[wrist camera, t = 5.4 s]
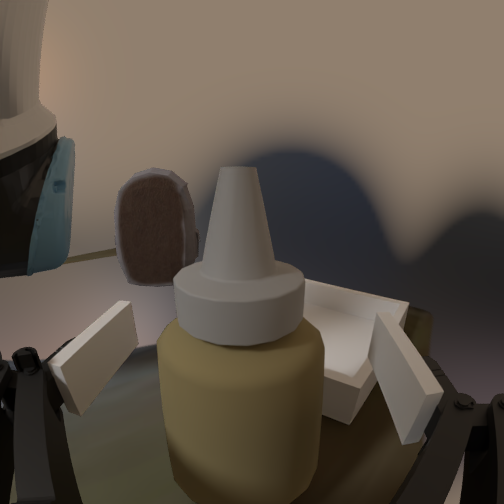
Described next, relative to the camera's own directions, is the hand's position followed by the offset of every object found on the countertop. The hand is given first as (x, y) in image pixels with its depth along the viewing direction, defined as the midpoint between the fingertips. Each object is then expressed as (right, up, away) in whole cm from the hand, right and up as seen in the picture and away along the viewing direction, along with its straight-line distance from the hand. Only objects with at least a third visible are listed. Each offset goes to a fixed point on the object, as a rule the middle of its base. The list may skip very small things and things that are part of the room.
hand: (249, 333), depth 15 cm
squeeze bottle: (0, -11, -1) cm, 11 cm away
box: (+6, -6, +17) cm, 19 cm away
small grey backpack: (-16, -1, +36) cm, 39 cm away
